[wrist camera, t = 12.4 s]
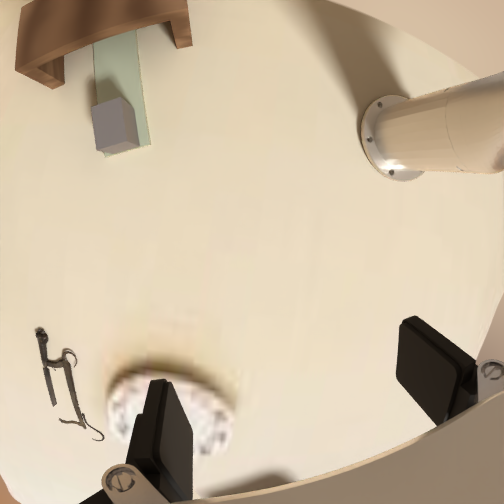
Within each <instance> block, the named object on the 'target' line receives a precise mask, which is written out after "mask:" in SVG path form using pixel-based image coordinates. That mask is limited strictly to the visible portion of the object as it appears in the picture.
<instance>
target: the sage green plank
mask: <svg viewBox="0 0 504 504" xmlns="http://www.w3.org/2000/svg"><path fill="white" fill-rule="evenodd" d="M93 49H94V68H95V82H96V94H97V104H98V105H95V106H92V107H91V111H92V120H93V128H94V136H95V143H96V149H97V151H102V152H104V155H105V157H110V156H113V155H116V154H120V153H123V152H127V151H130V150H134V149H138V148H141V147H145V146H149V145H151V141H150V135H149V129H148V123H147V116H146V110H145V103H144V96H143V88H142V81H141V72H140V64H139V55H138V45H137V34H136V29H135V30H131V31H128V32H125V33H121V34H118V35H115V36H112V37H109V38H106V39H103V40H100V41H98V42H95V43H93Z"/></svg>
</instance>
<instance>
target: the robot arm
mask: <svg viewBox="0 0 504 504" xmlns="http://www.w3.org/2000/svg"><path fill="white" fill-rule="evenodd" d="M361 138H362V144H363V147H364V151H365V153H366V155H367V157H368V159H369V161H370V162H371V164H372V165H373V166H374V168H375V169H376V170H377V171H378V172H379V173H381V174H382V175H383V176H385V177H387V178H389V179H391V180H395V181H403V182H406V181H412V180H414V179H417V178H418V177H420V176H421V175H422V174H423V173H424V172H425V171H440V172H461V173H477V174H495V173H499V172H501V171H503V170H504V71H503V72H500V73H498V74H495V75H492V76H489V77H486V78H483V79H479V80H475V81H472V82H468V83H464V84H460V85H457V86H453V87H450V88H446V89H442V90H439V91H436V92H432V93H429V94H425V95H422V96H419V97H416V98H412V99H409V100H408V99H407V98H404V97H401V96H397V95H387V96H384V97H381V98H379V99H377V100H375V101H374V102H373V103H371V104H370V105H369V107H368V108H367V110H366V111H365V114H364V116H363V119H362V124H361ZM367 139H368V141H367ZM475 363H476V360H475V359H473V358H472V357H471V356H469V355H468V354H467V353H466V352H464V351H463V350H462V349H460V348H459V347H458V346H456V345H455V344H454V343H452V342H451V341H450V340H449V339H447V338H446V337H445V336H443V335H442V334H441V333H439V332H438V331H437V330H435V329H434V328H432V327H431V326H430V325H428V324H427V323H426V322H424V321H423V320H422V319H420V318H419V317H418V316H412V317H409V318H406V319H404V320H403V321H402V324H401V325H400V327H399V342H398V356H397V367H396V378H397V380H398V382H399V383H400V384H401V385H402V386H403V387H404V388H405V390H406V391H407V392H408V393H409V394H410V395H411V396H412V398H413V399H414V400H415V401H416V402H417V403H418V405H419V406H420V407H421V408H422V409H423V410H424V412H425V413H426V414H427V415H428V416H429V417H430V419H431V420H432V421H433V422H434V423H435V424H436V426H437V427H435V428H433V429H431V430H430V431H428V432H426V433H424V434H422V435H420V436H418V437H416V438H414V439H412V440H410V441H408V442H405V443H403V444H401V445H399V446H397V447H395V448H392V449H390V450H388V451H385V452H383V453H381V454H378V455H376V456H373V457H371V458H368V459H366V460H363V461H360V462H358V463H355V464H352V465H350V466H347V467H344V468H341V469H338V470H335V471H332V472H329V473H325V474H322V475H319V476H315V477H312V478H308V479H305V480H301V481H297V482H293V483H289V484H285V485H281V486H276V487H272V488H267V489H262V490H257V491H251V492H245V493H240V494H234V495H227V496H220V497H212V498H203V499H196V500H192V498H193V431H192V428H191V425H190V423H189V421H188V419H187V417H186V414H185V412H184V410H183V408H182V405H181V403H180V401H179V399H178V396H177V394H176V391H175V389H174V387H173V384H172V382H167V380H166V379H158V380H151V381H150V384H149V388H148V392H147V397H146V401H145V405H144V409H143V414H138V415H137V417H136V420H135V424H134V428H133V432H132V436H131V440H130V445H129V449H128V454H127V458H126V463H125V464H118V465H115V466H112V467H110V468H109V469H108V470H107V471H106V472H105V473H104V474H103V477H102V487H103V489H102V490H100V491H99V492H97V493H95V494H94V495H92V496H91V497H89V498H87V499H86V500H84V501H83V502H81V503H79V504H504V363H503V362H501V361H499V360H494V359H491V360H486V361H483V362H482V363H480V364H479V366H477V365H476V364H475Z"/></svg>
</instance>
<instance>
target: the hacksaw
mask: <svg viewBox="0 0 504 504" xmlns="http://www.w3.org/2000/svg"><path fill="white" fill-rule="evenodd" d="M36 337H37V339H38V343H39V348H40V353H41V358H42V363H43V366H45V368H43V370H44V375H45V379H46V384H47V387H48V391H49V395H50V398H51V401H52V405H53V407H54V406H55V405H56V404H57V402H56V398H55V394H54V390H53V385H52V381H51V376H50V372H49V369H47V366H49V367H52V368H53V367H54V368H61V367H64V370H65V375H66V379H67V383H68V387H69V391H70V395H71V399H72V402H73V405H74V408H75V411H76V414H77V416H78V419H79V421H80V422H76V421H65V420H62V419H60V418H59V419H60V420H59V421H61V422H62V423H75V424H78V425H79V426H82V427H84V429H86V426H85V423H86V424H87V425H88V423H87V422H86V419H85V415H84V414H83V413H82V414H81V411H80V408H79V407H78V405H79V404H78V401H77V396H76V392H75V387H74V382H73V377H72V371H71V366H70V364H69V363H68V361H67V360H66V359H67V358H65V356H66V354H67V353H70V354H72V355H73V356H74V357H75V359H76V356H75V355H74V354H73V353H72V352H69V351H66V352H64V353H63V360H60V361H59V362H57V363H54V362H50V361H48V358H47V347H46V343H47V342H48V337H47V334H46V333H45V331H42V329H41V330H40V329H39V331H38V332H37V333H36ZM76 364H77V359H76ZM76 364H75V366H76ZM75 366H74V367H75ZM54 370H55V369H54ZM55 371H56V370H55ZM82 416H83V418H84V421H85V423H84V422H83V418H82ZM88 426H89V427H91V426H90V425H88ZM91 428H92V429H94V430H96V429H95V428H93V427H91ZM96 431H97V432H99V431H98V430H96ZM99 433H100V434H101V435H102V436H103V438H102V440H96V441H103V440H104V435H103V434H102V433H101V432H99ZM92 439H93V438H92ZM93 440H95V439H93Z"/></svg>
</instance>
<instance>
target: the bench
mask: <svg viewBox="0 0 504 504" xmlns="http://www.w3.org/2000/svg"><path fill="white" fill-rule="evenodd" d="M166 21H170V23H171V27H172V31H173V34H174V38H175V42H176V46H177V49H179V48H184V47H189V46H193V45H192V37H191V29H190V21H189V13H188V5H187V0H34V1H32V2H30V3H28V4H27V5H25V6H23V7H22V8H21V15H20V21H19V29H18V37H17V47H16V61H15V71H17V72H19V73H21V74H23V75H25V76H27V77H29V78H31V79H33V80H35V81H37V82H39V83H41V84H43V85H45V86H47V87H49V88H51V89H55V88H57V87H59V86H61V85H64V84H65V81H64V55H65V54H67V53H70V52H72V51H74V50H77V49H79V48H82V47H84V46H87V45H89V44H92V43H95V42H98V41H100V40H103V39H106V38H109V37H112V36H115V35H118V34H121V33H125V32H128V31H131V30H135V29H138V28H142V27H146V26H150V25H154V24H158V23H162V22H166Z"/></svg>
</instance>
